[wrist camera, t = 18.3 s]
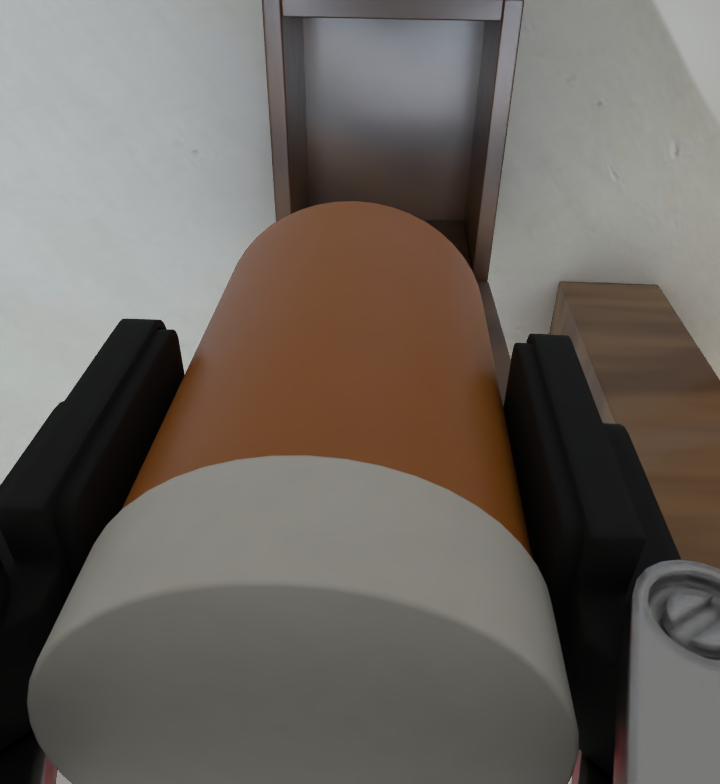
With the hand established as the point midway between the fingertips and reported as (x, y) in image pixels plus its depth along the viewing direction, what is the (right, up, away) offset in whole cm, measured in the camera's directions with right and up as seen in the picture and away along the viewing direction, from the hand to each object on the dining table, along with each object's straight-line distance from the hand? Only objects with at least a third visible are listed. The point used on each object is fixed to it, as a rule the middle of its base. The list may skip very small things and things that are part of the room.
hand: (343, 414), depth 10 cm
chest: (+2, +15, +26) cm, 31 cm away
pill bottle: (0, +2, +2) cm, 3 cm away
